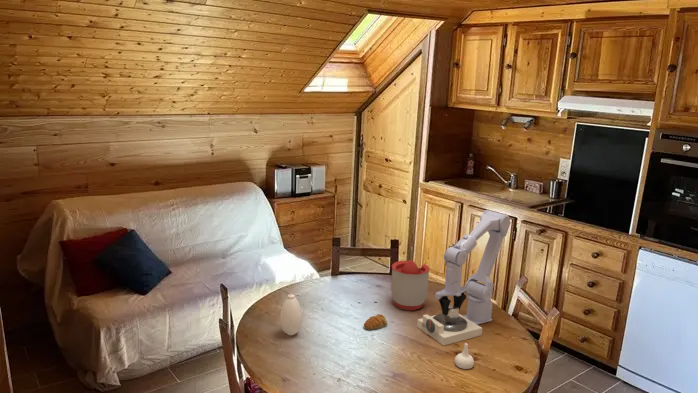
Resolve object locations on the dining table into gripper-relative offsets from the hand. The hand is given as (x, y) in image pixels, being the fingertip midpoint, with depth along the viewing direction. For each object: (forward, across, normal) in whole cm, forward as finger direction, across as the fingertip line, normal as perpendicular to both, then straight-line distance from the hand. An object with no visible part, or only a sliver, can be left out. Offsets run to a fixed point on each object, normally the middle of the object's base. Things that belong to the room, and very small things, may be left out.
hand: (450, 313), depth 196 cm
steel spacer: (+2, 0, -1) cm, 2 cm away
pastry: (+8, -23, +15) cm, 29 cm away
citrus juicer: (+8, 0, +26) cm, 27 cm away
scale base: (+7, 0, 0) cm, 7 cm away
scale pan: (+4, 0, 0) cm, 4 cm away
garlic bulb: (+8, -11, -21) cm, 25 cm away
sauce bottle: (+8, -55, +23) cm, 60 cm away
